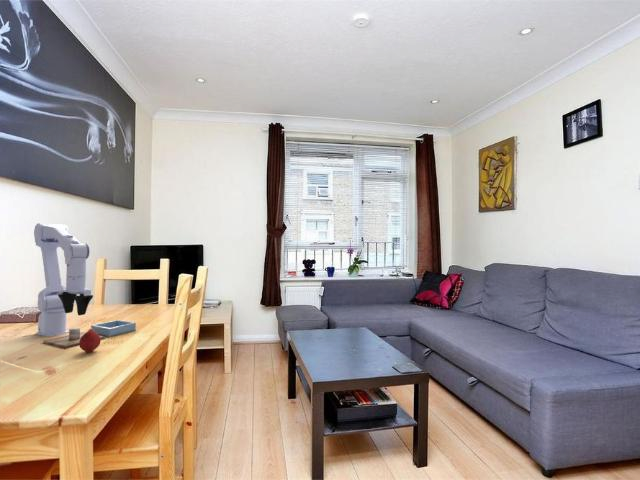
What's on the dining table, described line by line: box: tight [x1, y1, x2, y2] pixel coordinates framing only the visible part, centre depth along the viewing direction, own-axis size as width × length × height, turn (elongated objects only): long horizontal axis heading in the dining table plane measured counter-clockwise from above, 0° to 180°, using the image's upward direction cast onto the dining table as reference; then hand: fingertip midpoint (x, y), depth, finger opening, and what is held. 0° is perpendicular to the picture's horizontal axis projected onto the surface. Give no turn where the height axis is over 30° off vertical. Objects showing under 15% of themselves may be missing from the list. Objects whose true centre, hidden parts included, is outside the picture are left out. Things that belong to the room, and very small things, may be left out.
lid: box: [42, 327, 105, 349], centre depth 122 cm, size 13×13×4 cm
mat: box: [40, 337, 106, 350], centre depth 122 cm, size 14×14×1 cm
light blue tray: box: [90, 319, 137, 338], centre depth 135 cm, size 11×11×4 cm
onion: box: [79, 327, 102, 353], centre depth 111 cm, size 6×6×8 cm
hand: (75, 313), depth 122 cm, fingers open, 7 cm apart
